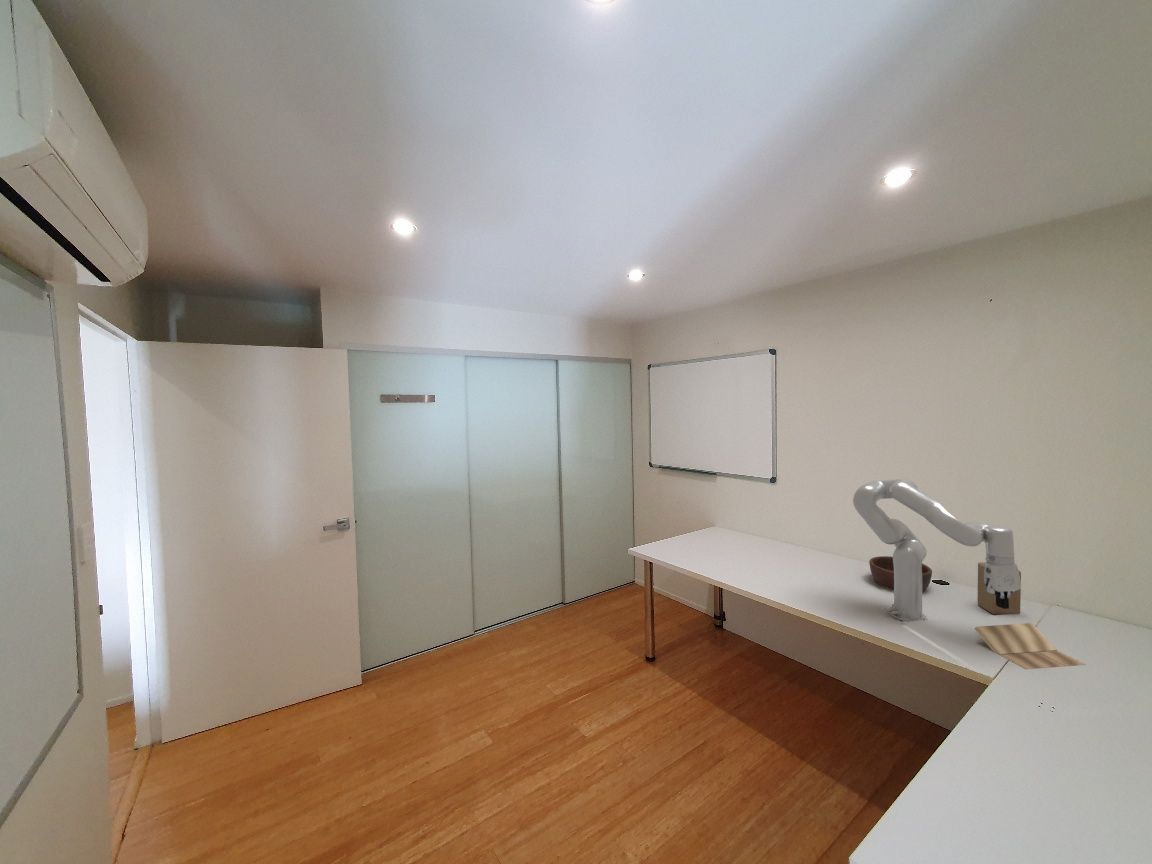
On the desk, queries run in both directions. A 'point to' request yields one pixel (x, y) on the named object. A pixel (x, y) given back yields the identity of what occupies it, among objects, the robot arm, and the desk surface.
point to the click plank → (1014, 638)
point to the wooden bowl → (885, 572)
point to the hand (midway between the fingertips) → (1002, 607)
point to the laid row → (1042, 660)
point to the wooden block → (989, 599)
